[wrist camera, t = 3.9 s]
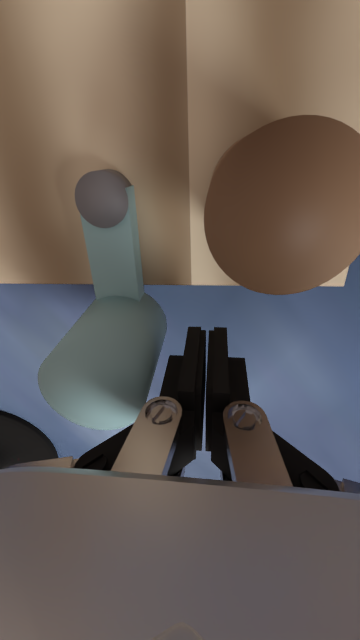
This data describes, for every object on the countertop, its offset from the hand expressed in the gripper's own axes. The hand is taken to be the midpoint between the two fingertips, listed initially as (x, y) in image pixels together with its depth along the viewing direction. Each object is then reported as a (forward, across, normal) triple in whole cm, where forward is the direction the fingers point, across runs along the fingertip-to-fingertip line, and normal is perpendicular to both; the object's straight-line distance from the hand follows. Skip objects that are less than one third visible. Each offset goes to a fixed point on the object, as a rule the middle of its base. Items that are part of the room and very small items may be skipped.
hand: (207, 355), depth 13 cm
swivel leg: (+2, +4, -3) cm, 5 cm away
